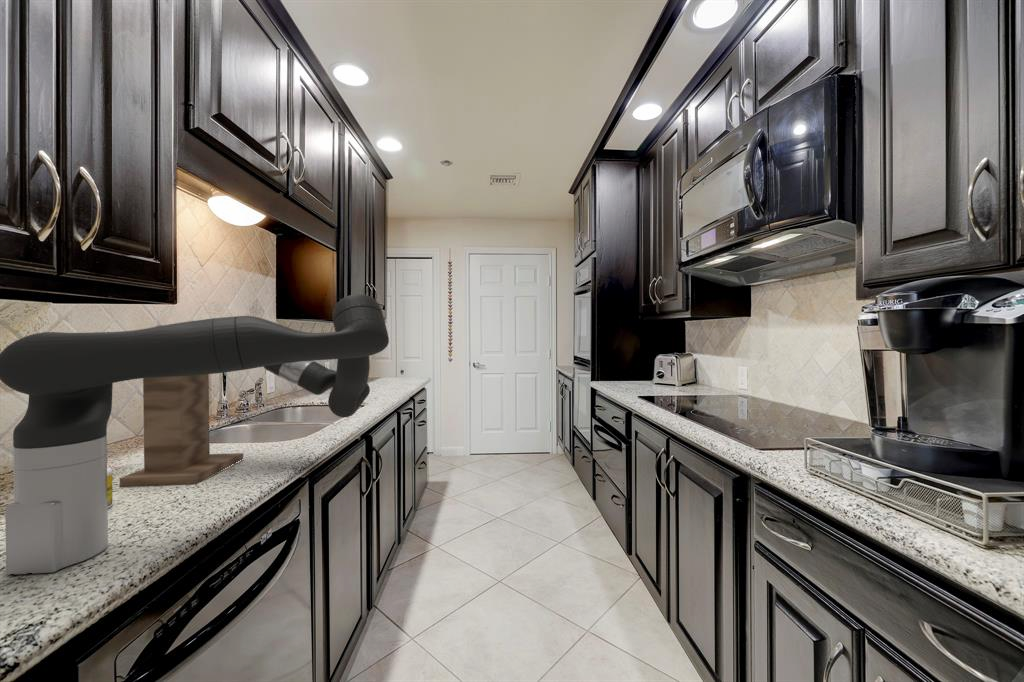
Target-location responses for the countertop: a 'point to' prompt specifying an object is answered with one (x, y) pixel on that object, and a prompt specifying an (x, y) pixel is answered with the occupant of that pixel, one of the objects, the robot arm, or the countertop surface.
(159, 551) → the countertop surface
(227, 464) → the stand
